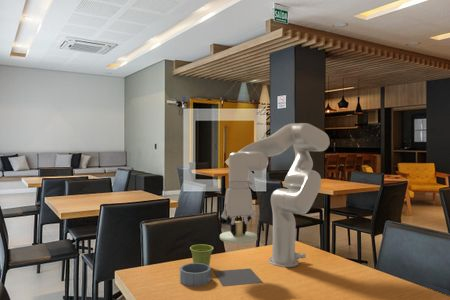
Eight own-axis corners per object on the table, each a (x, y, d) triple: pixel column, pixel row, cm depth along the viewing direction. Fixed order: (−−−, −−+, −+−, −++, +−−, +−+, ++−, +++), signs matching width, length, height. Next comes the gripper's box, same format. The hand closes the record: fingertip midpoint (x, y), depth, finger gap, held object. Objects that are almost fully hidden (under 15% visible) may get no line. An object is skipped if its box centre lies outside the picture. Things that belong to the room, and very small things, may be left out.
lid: (250, 232, 143) (250, 217, 142) (262, 242, 129) (262, 225, 129) (216, 234, 139) (216, 219, 139) (224, 244, 126) (225, 227, 125)
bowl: (207, 275, 137) (207, 262, 137) (213, 286, 126) (213, 272, 126) (178, 277, 134) (178, 264, 134) (182, 288, 124) (182, 274, 124)
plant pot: (214, 265, 148) (214, 244, 148) (211, 273, 138) (211, 251, 138) (192, 264, 149) (192, 243, 148) (187, 272, 139) (187, 250, 139)
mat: (250, 269, 143) (250, 268, 143) (263, 284, 129) (263, 282, 129) (213, 272, 140) (213, 271, 140) (222, 287, 125) (222, 286, 125)
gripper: (256, 183, 139) (255, 230, 140) (215, 184, 135) (214, 233, 136) (262, 186, 132) (262, 235, 132) (219, 187, 128) (219, 238, 128)
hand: (238, 233), depth 134 cm, fingers closed on lid, 3 cm apart
